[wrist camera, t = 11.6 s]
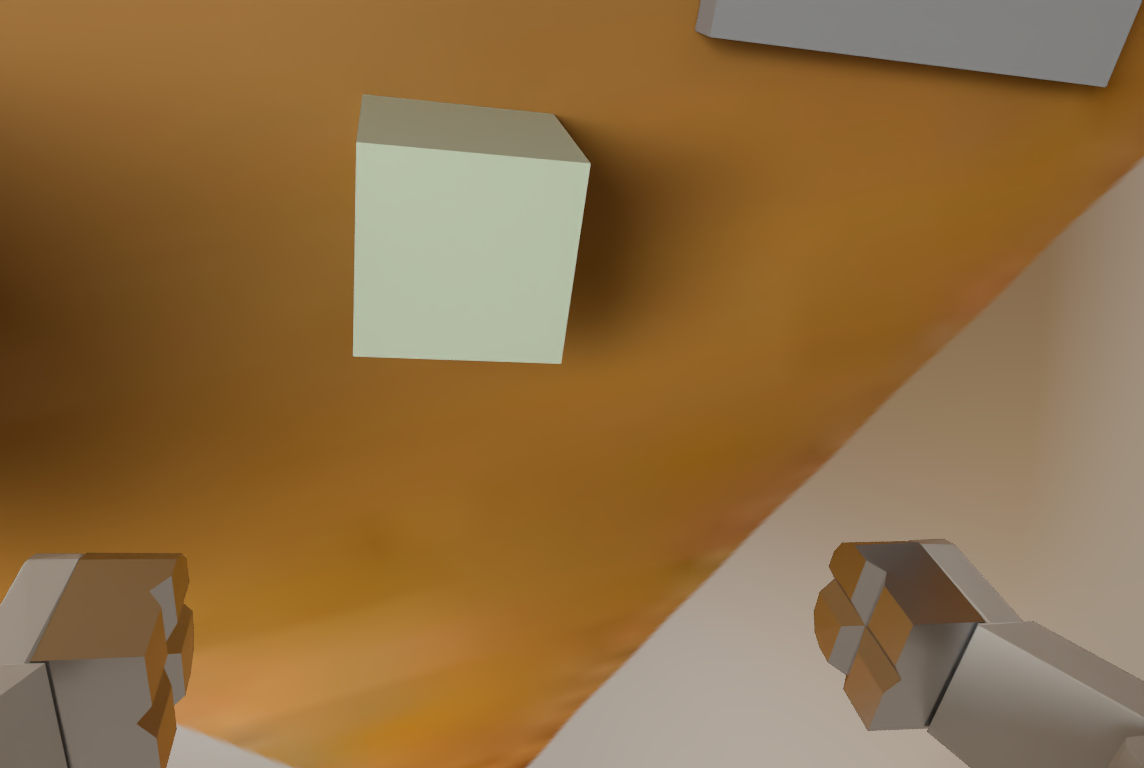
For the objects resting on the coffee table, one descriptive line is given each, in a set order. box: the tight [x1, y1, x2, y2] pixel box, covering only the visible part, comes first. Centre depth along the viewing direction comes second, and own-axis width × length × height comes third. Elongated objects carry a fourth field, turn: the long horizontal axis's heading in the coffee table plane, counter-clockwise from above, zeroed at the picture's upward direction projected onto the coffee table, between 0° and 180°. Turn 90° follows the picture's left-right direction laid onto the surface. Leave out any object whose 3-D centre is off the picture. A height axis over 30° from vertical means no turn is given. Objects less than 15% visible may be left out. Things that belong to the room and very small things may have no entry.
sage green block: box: [353, 94, 591, 364], centre depth 21 cm, size 5×5×5 cm
